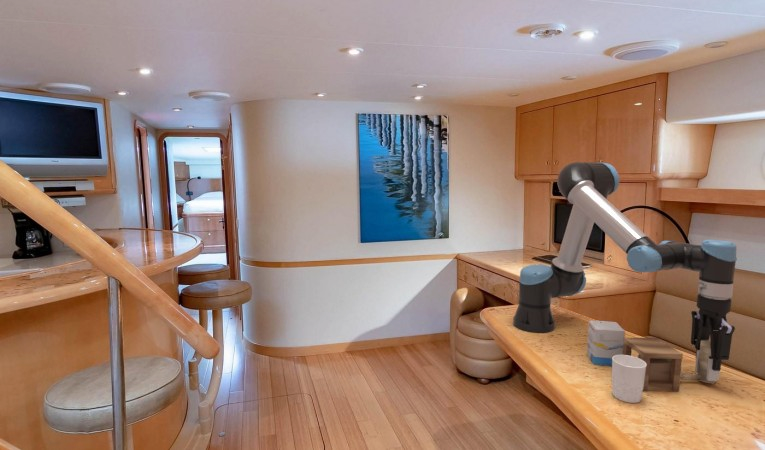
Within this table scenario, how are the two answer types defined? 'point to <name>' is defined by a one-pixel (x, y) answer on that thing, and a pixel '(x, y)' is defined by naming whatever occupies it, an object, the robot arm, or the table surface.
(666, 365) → the block
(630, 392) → the white cup
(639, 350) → the wooden open stand
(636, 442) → the table surface
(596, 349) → the ink box
